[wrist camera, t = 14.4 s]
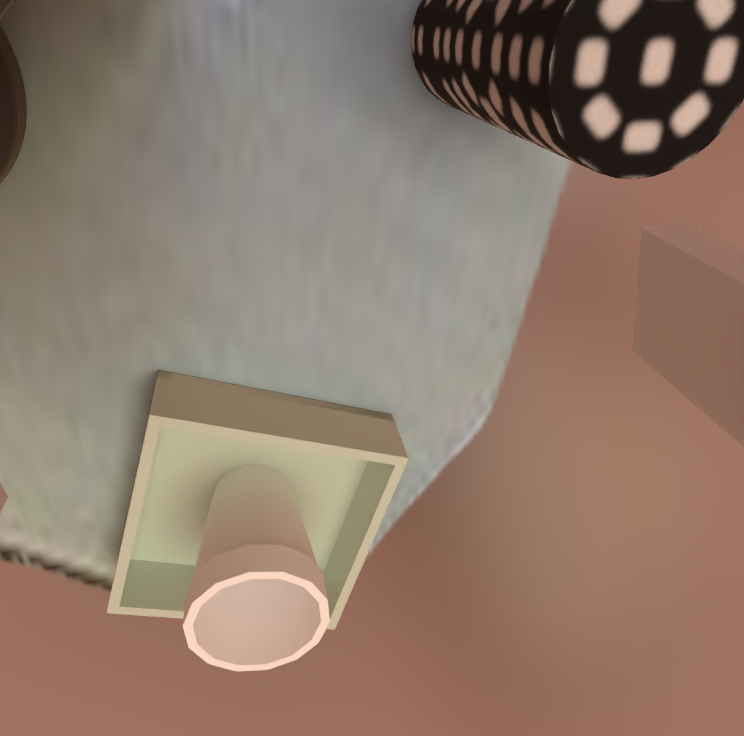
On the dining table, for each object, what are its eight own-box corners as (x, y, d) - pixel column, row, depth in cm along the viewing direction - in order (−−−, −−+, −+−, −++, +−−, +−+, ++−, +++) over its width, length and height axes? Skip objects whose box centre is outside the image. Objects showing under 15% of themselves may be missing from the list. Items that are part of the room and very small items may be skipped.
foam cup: (184, 456, 50) (171, 585, 39) (303, 439, 51) (323, 559, 40) (205, 545, 55) (198, 683, 43) (313, 527, 56) (333, 656, 45)
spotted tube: (530, 107, 43) (728, 174, 26) (409, 110, 42) (534, 183, 24) (546, -40, 39) (796, -76, 22) (413, -42, 37) (566, -82, 20)
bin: (118, 556, 55) (106, 613, 50) (158, 370, 47) (149, 414, 42) (325, 576, 61) (334, 629, 55) (391, 414, 53) (408, 458, 48)
